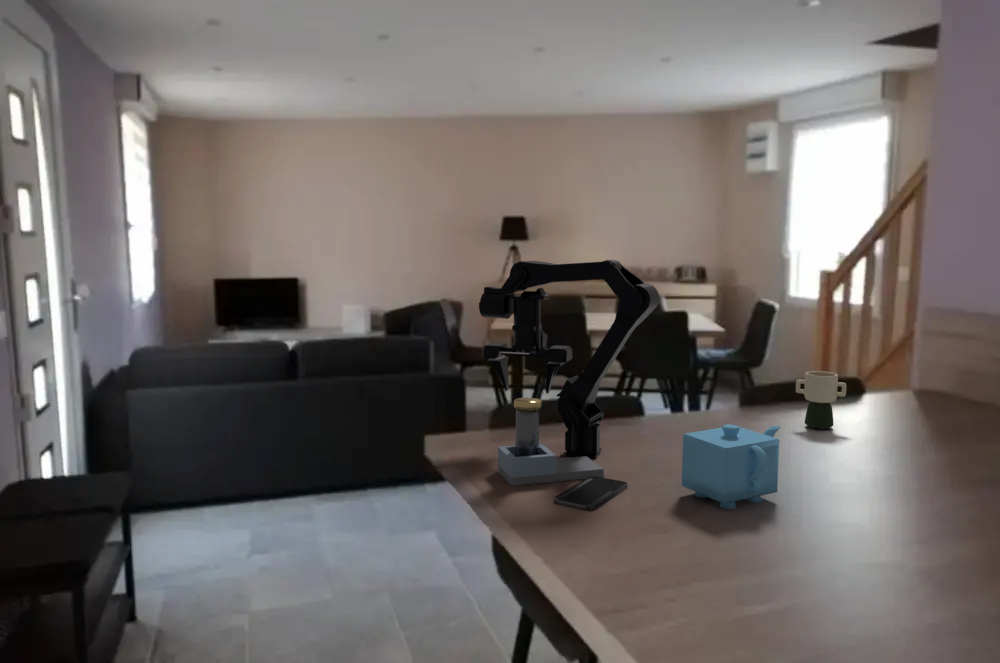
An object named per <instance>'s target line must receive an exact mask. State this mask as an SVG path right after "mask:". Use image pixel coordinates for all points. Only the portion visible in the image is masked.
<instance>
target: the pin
mask: <svg viewBox="0 0 1000 663" xmlns="http://www.w3.org/2000/svg"><path fill="white" fill-rule="evenodd" d="M542 402H543V401H542V400H541V399H540V398H537V397H536V398H534V397H518V398H515V399H513V408H514V409H515V445H516V454H515V457H522V456H533V455H539V443H540V409H542V408H543V407H542Z"/></svg>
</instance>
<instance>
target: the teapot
mask: <svg viewBox="0 0 1000 663" xmlns="http://www.w3.org/2000/svg"><path fill="white" fill-rule="evenodd" d="M781 428H782V427H781V426H779V425H775V426H770V427H768V428H767V429H766V430H765V431H764V433H761V432H758V431H754V430H750V429H749V428H748V429H747V428H744V427H741V426H738V425H735V424H728V423H727V424H723V425H722V426H721V427H719V428H716V427H715V428H711V429H705V430H698V431H692V432H688V433H687V432H686V433H684V434H682V459H681V460H682V461H681V463H682V464H681V486H682V487H684V488H686V489H689V490H690V491H694V492H695V493H694V496H695V497H698V498H702V499H703V498H704V499H705V498H709V499H712V500H713V501H716V502H718V503H720V505H719V507H721V508H722V509H725V510H734V509H736V508H737V507H736V502H740V501H742V500H743V501H744V500H747V501H748V502H750V503H753V504H754V503H756V504H759V503H763V502H764V500H763V498H762V496H766V495H771V494H774V493H778V484H779V483H778V480H779V463H780V462H779V457H780V439H779V438H777V437H775V434H777V432H778V431H779V430H780V429H781Z"/></svg>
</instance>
